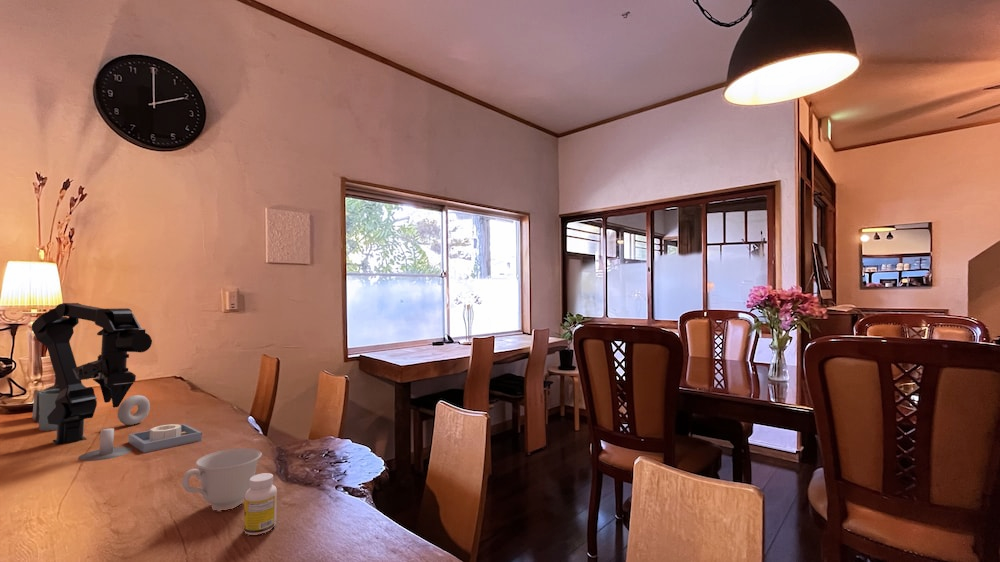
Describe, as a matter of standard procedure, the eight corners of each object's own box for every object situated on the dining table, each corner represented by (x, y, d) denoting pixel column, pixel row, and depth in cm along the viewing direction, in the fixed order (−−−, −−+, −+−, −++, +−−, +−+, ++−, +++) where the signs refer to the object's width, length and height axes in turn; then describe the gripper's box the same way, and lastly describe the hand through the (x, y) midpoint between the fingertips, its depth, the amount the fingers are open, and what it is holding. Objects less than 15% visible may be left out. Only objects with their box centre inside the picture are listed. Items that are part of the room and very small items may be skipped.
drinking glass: (46, 424, 147) (48, 388, 148) (85, 421, 152) (87, 386, 152) (29, 432, 138) (31, 394, 139) (71, 429, 142) (73, 392, 143)
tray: (128, 444, 129) (129, 434, 129) (184, 433, 140) (184, 423, 140) (143, 454, 121) (144, 443, 121) (201, 442, 132) (201, 432, 132)
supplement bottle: (251, 522, 85) (253, 471, 86) (280, 521, 86) (282, 471, 86) (237, 537, 80) (240, 483, 81) (268, 536, 80) (270, 482, 81)
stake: (73, 456, 118) (75, 430, 119) (125, 446, 127) (126, 422, 128) (83, 466, 112) (85, 438, 112) (137, 454, 121) (138, 429, 121)
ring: (146, 441, 130) (147, 428, 130) (180, 434, 137) (181, 422, 137) (154, 446, 126) (155, 432, 126) (189, 439, 133) (190, 426, 133)
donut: (122, 429, 144) (123, 398, 144) (113, 428, 144) (115, 397, 145) (152, 421, 153) (153, 392, 154) (144, 420, 154) (145, 391, 154)
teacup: (164, 516, 87) (167, 465, 88) (238, 488, 100) (240, 444, 101) (198, 532, 82) (200, 477, 82) (272, 500, 95) (273, 453, 95)
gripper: (69, 350, 127) (66, 404, 127) (84, 356, 116) (81, 415, 115) (118, 347, 136) (116, 398, 135) (137, 352, 125) (134, 407, 124)
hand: (111, 404), depth 127 cm, fingers open, 9 cm apart
